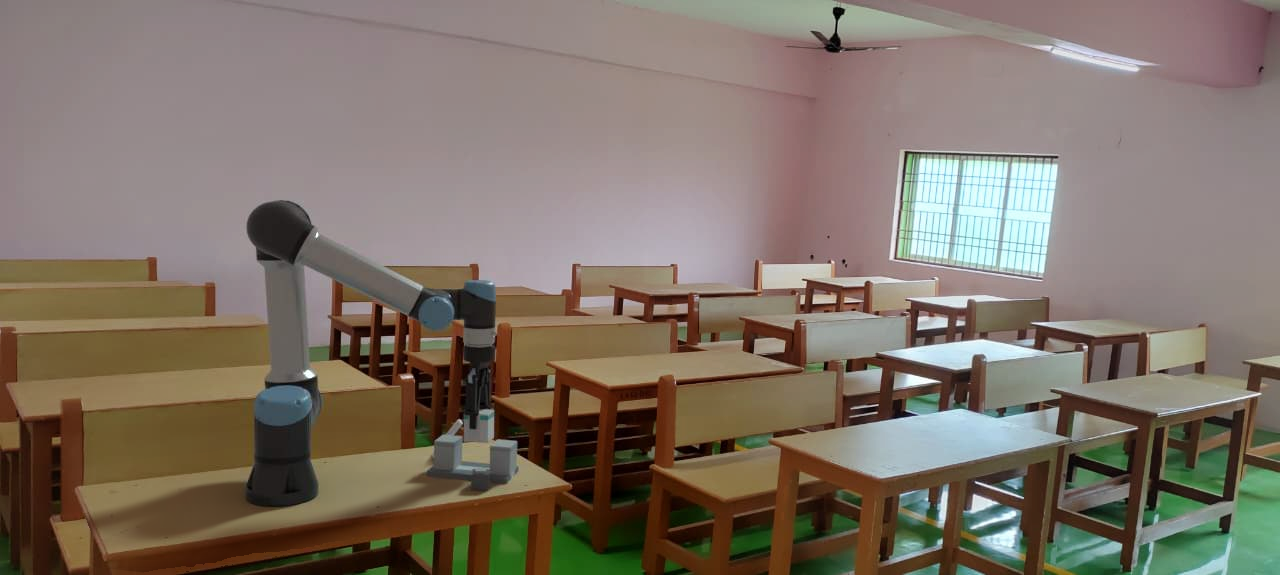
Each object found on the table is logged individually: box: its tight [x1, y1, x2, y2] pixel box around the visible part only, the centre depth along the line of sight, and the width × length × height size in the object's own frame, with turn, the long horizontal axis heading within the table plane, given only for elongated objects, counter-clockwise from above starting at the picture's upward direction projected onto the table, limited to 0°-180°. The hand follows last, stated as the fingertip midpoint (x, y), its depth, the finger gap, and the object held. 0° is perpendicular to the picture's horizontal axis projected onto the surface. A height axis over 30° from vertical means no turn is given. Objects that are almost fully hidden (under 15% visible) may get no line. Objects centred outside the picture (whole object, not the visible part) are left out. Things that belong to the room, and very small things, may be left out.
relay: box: [470, 468, 490, 492], centre depth 217 cm, size 4×4×5 cm
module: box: [463, 409, 495, 444], centre depth 226 cm, size 6×5×7 cm
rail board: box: [426, 434, 519, 484], centre depth 227 cm, size 20×10×8 cm, turn 82°
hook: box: [431, 418, 464, 459], centre depth 240 cm, size 8×12×7 cm
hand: (477, 438), depth 226 cm, fingers closed on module, 5 cm apart
